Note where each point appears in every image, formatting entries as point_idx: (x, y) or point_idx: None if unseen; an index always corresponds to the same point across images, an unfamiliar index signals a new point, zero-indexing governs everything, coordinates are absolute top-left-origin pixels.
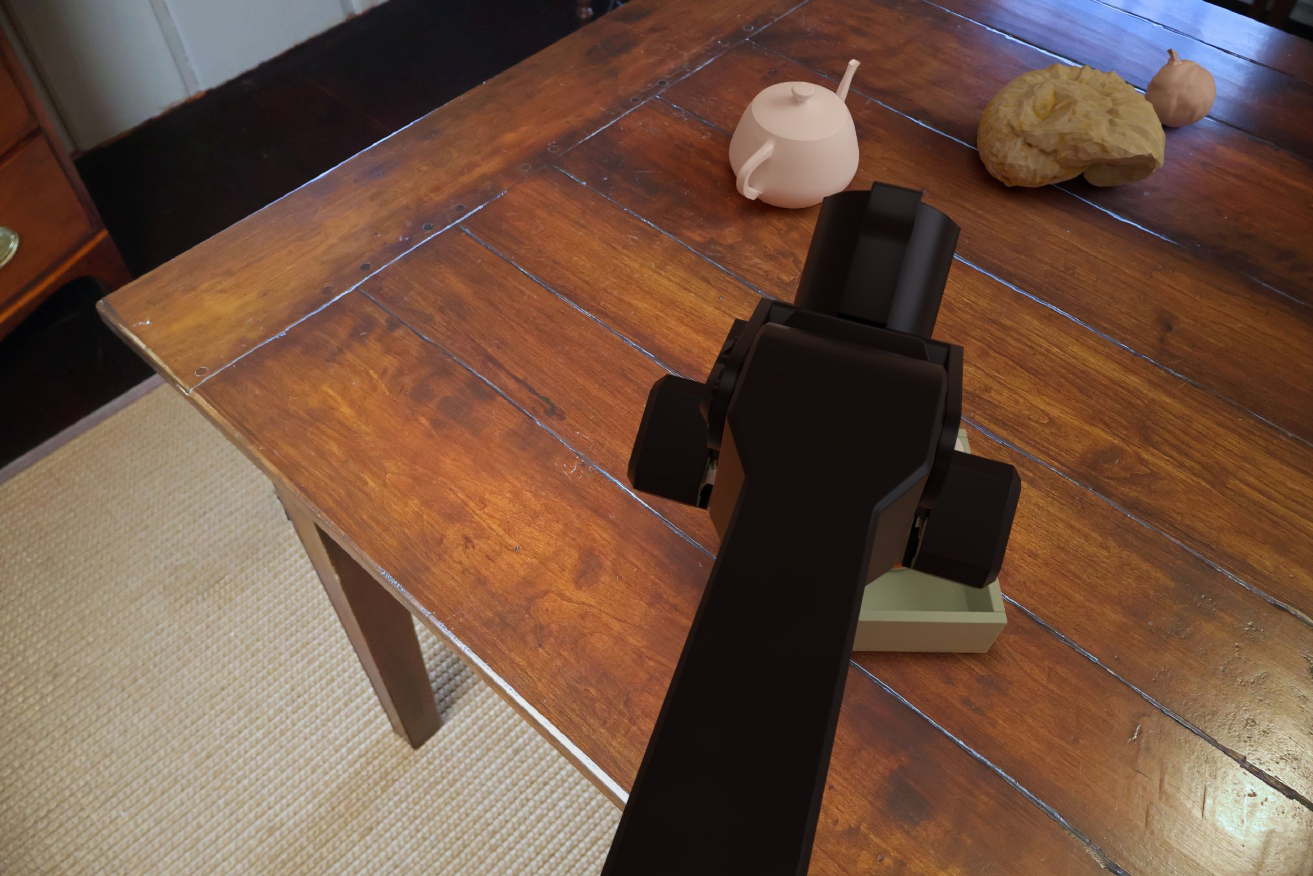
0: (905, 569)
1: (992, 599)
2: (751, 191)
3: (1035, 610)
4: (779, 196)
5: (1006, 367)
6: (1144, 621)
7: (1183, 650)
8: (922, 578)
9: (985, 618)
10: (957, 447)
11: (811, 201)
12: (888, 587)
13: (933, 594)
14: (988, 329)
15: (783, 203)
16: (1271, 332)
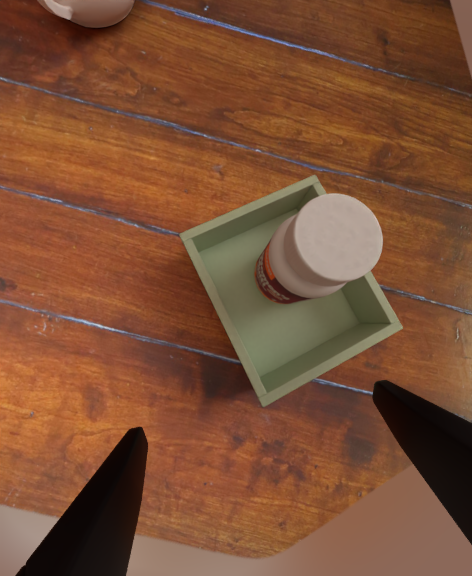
0: None
1: (387, 314)
2: (58, 6)
3: (382, 282)
4: (88, 8)
5: (304, 110)
6: (439, 259)
7: (463, 268)
8: None
9: (388, 332)
10: (369, 217)
11: (118, 7)
12: (297, 312)
13: (325, 303)
14: (283, 84)
15: (97, 18)
16: (439, 23)
